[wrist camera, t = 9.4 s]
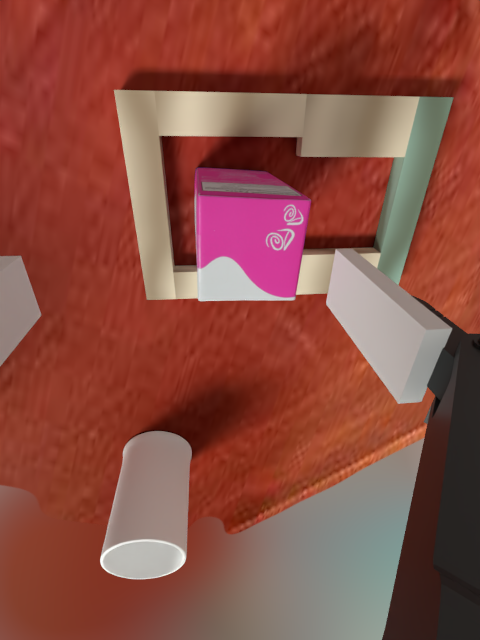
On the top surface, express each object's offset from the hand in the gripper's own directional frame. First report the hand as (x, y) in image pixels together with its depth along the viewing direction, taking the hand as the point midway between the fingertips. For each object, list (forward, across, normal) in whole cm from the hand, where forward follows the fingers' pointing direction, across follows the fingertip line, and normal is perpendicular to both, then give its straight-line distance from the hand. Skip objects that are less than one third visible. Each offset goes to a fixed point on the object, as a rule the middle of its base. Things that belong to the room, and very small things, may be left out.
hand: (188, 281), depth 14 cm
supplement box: (+14, +3, 0) cm, 15 cm away
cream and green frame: (+14, +7, 0) cm, 16 cm away
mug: (+15, -7, -31) cm, 35 cm away
